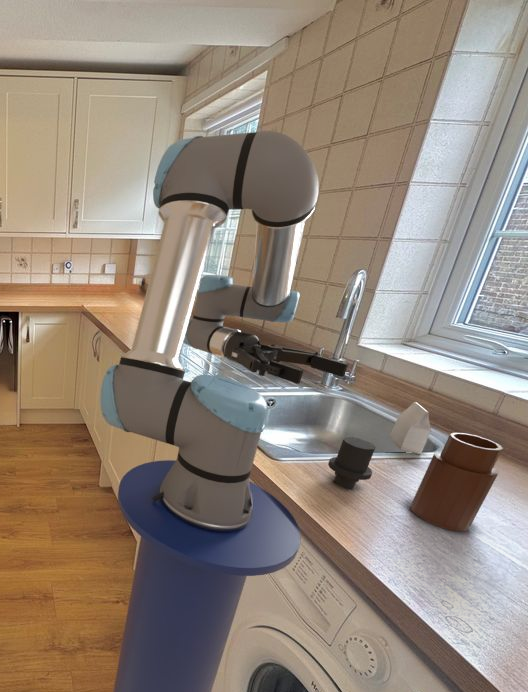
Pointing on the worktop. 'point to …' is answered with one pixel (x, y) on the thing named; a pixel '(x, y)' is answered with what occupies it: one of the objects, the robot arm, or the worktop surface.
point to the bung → (352, 462)
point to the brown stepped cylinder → (457, 481)
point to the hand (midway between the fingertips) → (323, 373)
